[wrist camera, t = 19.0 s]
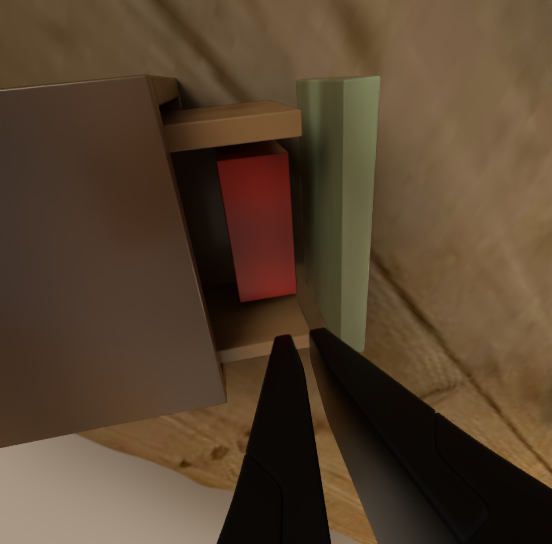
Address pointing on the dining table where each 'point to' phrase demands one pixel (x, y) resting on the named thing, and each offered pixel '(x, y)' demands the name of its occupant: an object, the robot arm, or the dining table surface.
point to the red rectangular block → (258, 217)
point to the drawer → (315, 208)
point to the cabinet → (96, 263)
